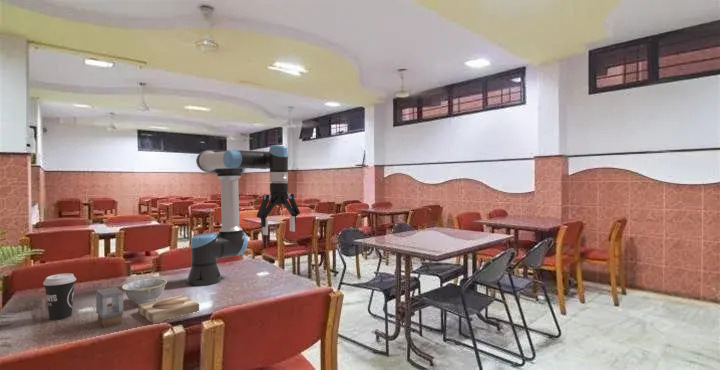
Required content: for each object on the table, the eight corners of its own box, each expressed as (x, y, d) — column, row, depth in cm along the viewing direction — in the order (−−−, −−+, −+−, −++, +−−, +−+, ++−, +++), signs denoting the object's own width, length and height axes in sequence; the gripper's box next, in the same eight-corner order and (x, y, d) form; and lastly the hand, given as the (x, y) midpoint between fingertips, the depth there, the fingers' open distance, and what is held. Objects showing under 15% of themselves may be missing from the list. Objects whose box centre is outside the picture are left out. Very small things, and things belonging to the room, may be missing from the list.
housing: (96, 312, 135) (96, 290, 135) (115, 308, 139) (115, 286, 139) (102, 319, 129) (102, 295, 129) (123, 314, 133) (122, 291, 133)
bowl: (135, 311, 145) (135, 291, 145) (114, 304, 154) (114, 285, 153) (175, 299, 159) (174, 281, 159) (153, 293, 167) (153, 276, 167)
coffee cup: (56, 312, 144) (55, 273, 143) (82, 311, 144) (82, 272, 144) (36, 322, 134) (36, 280, 134) (65, 321, 135) (64, 279, 135)
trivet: (138, 312, 143) (138, 304, 143) (182, 302, 155) (182, 294, 155) (153, 323, 132) (153, 314, 132) (199, 311, 144) (199, 303, 144)
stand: (97, 320, 136) (97, 311, 136) (114, 316, 139) (113, 308, 139) (105, 327, 129) (105, 319, 129) (122, 323, 133) (121, 315, 132)
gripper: (257, 183, 148) (258, 237, 148) (307, 182, 166) (307, 230, 167) (247, 182, 153) (247, 235, 154) (297, 182, 171) (297, 229, 172)
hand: (279, 233), depth 160 cm, fingers open, 13 cm apart
